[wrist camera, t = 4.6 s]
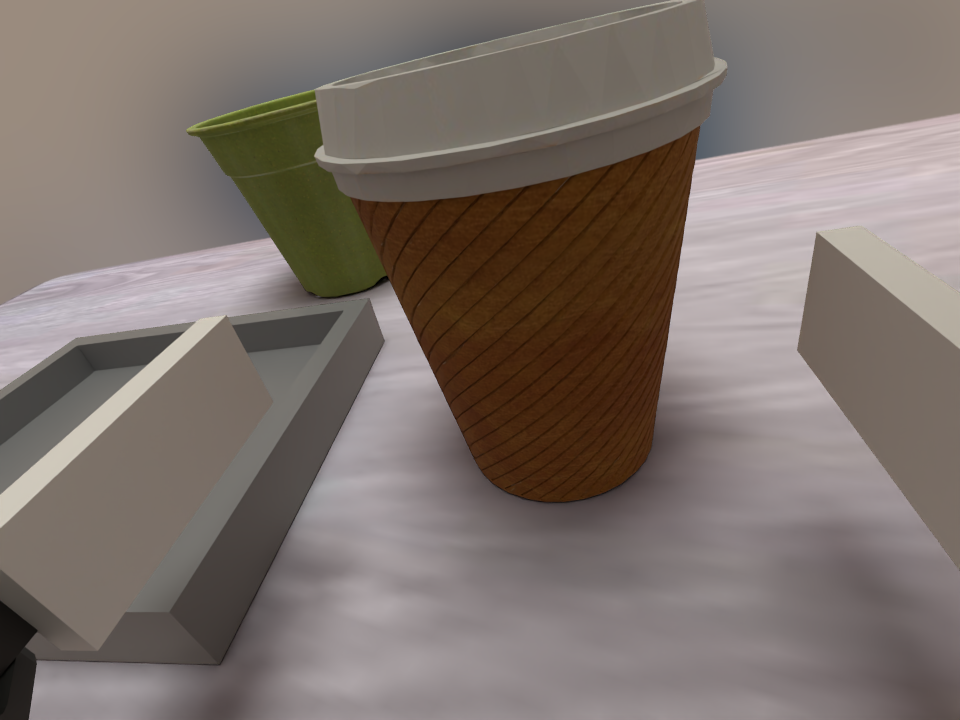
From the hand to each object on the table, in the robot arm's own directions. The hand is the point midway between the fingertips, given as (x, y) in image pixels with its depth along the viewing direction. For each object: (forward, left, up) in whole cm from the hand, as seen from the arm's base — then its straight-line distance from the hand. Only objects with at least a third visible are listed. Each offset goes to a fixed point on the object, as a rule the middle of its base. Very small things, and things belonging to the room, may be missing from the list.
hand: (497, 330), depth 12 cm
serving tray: (+17, -4, -7) cm, 19 cm away
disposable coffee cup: (-1, -4, -7) cm, 8 cm away
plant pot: (+13, -21, -7) cm, 26 cm away
